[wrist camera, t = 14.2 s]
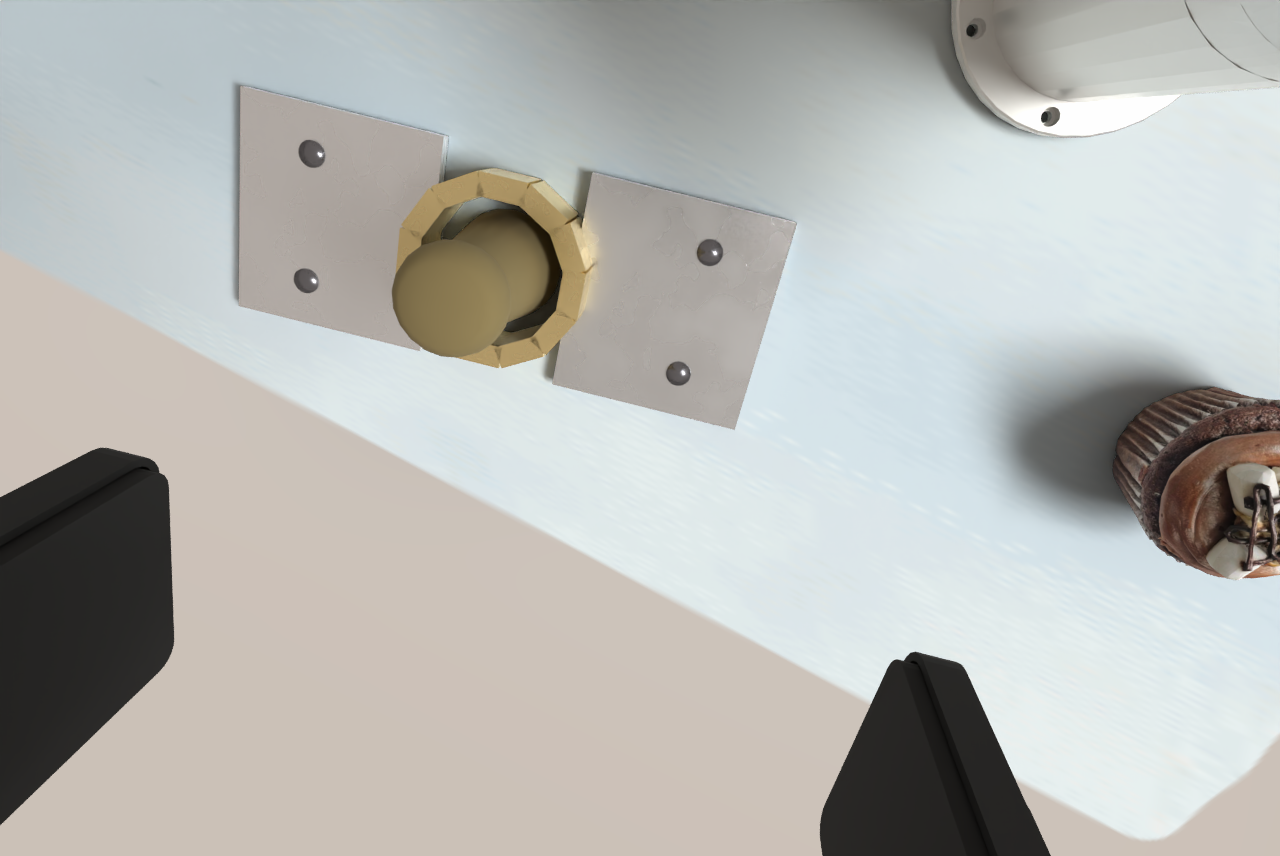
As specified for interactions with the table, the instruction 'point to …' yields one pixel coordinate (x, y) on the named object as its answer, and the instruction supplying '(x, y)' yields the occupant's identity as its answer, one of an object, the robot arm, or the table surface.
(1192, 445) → the cupcake
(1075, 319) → the table surface
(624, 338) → the mounting plate with ring
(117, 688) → the robot arm
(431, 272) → the cork
